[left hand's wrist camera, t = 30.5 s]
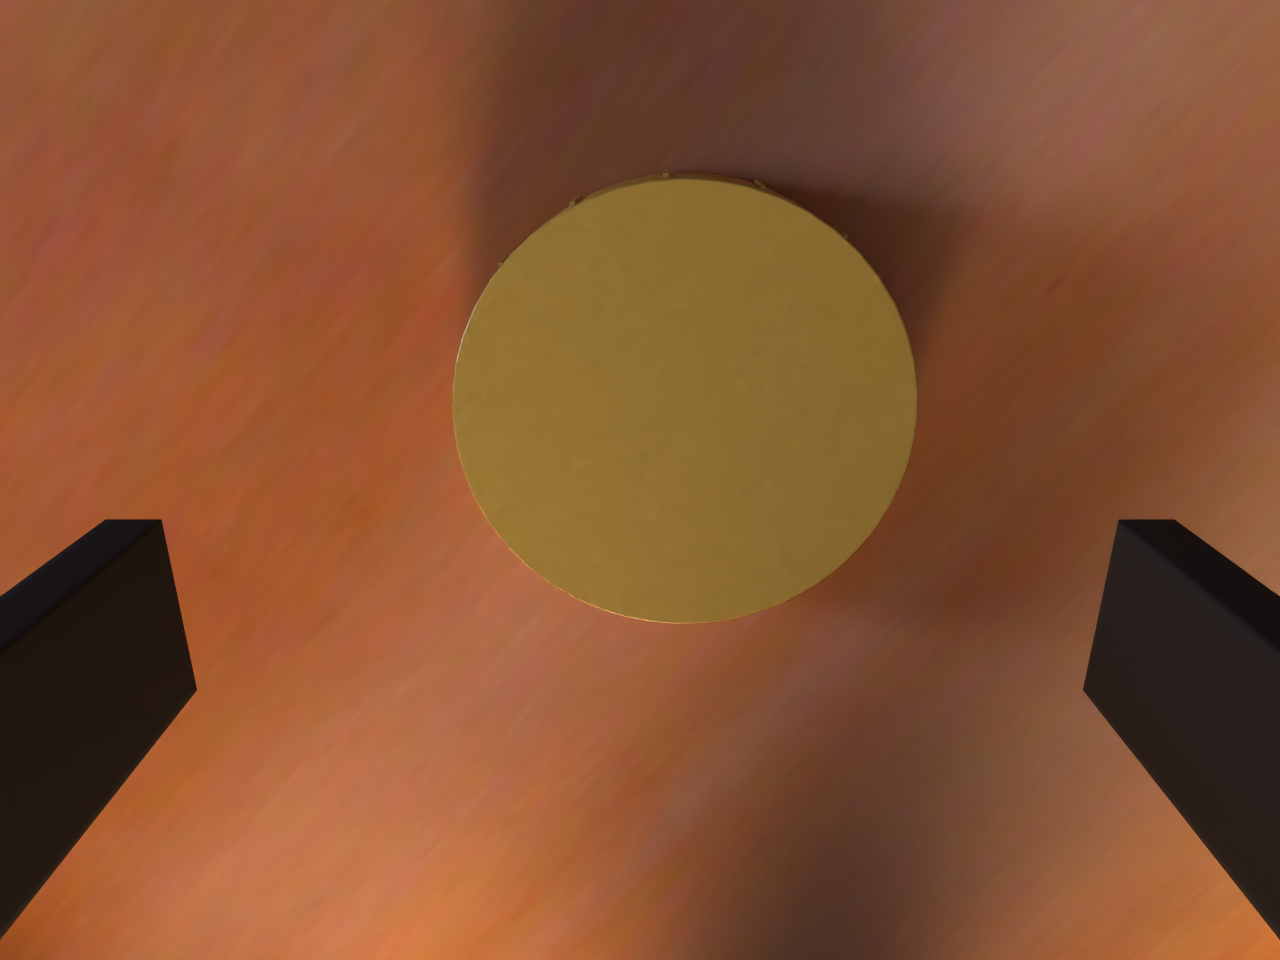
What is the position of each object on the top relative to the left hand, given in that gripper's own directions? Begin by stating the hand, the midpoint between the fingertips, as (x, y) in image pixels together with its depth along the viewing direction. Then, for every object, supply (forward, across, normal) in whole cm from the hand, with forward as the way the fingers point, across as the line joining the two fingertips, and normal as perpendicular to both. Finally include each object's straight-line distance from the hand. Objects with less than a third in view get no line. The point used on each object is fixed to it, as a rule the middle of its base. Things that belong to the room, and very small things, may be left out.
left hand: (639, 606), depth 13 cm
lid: (+8, -1, 0) cm, 8 cm away
